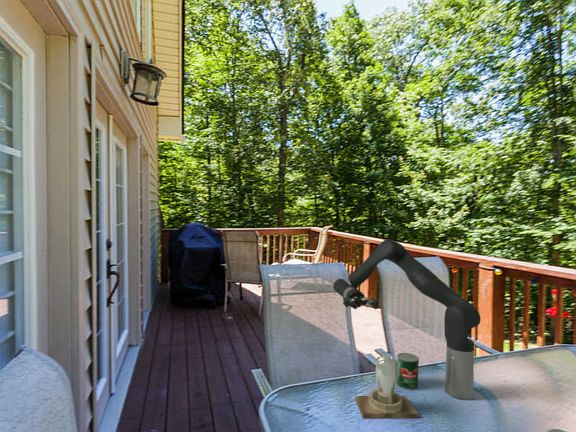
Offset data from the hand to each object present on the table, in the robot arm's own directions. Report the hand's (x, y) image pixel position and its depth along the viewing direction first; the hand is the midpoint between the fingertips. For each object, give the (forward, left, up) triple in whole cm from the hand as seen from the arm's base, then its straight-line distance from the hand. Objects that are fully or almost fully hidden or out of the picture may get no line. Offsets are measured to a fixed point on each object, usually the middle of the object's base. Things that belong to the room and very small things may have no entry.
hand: (366, 306), depth 146 cm
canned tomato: (-17, +1, -28) cm, 33 cm away
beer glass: (-12, +22, -26) cm, 36 cm away
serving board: (-12, +22, -28) cm, 37 cm away
